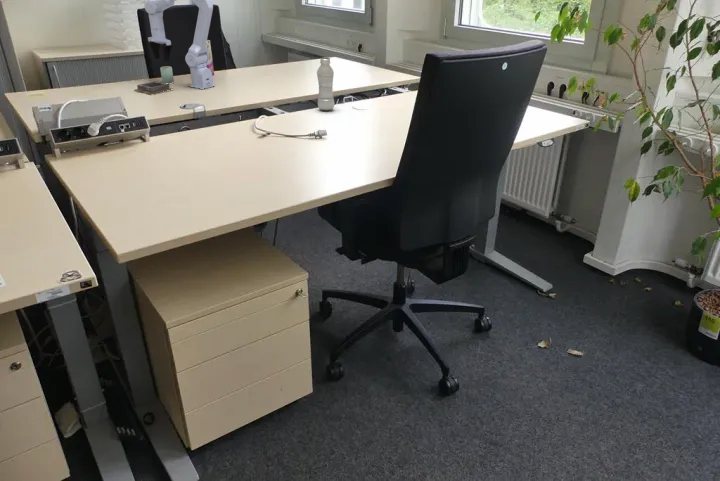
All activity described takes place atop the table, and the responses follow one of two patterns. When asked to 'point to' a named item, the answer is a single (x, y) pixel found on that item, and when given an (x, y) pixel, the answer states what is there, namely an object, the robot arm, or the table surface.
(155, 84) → the holder
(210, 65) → the candy bar box
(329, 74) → the plastic bottle
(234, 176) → the table surface
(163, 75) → the roll
